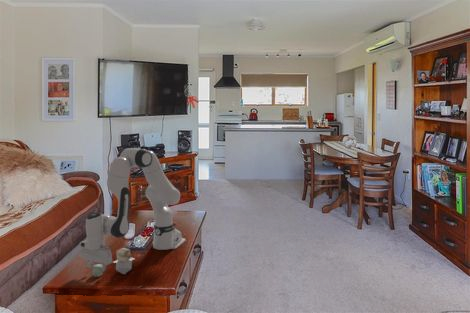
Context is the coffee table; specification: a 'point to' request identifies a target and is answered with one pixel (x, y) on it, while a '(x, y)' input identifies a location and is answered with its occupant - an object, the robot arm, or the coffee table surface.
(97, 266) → the pale green rounded lump
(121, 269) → the die
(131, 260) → the plan card
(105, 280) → the coffee table surface
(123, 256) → the birch block
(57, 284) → the coffee table surface
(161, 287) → the coffee table surface
